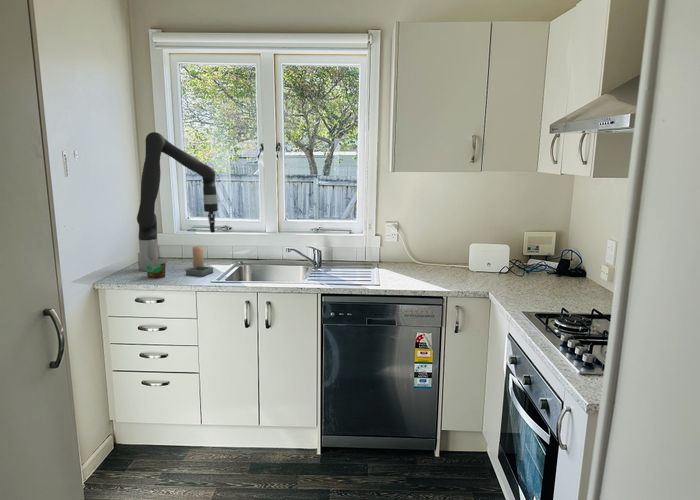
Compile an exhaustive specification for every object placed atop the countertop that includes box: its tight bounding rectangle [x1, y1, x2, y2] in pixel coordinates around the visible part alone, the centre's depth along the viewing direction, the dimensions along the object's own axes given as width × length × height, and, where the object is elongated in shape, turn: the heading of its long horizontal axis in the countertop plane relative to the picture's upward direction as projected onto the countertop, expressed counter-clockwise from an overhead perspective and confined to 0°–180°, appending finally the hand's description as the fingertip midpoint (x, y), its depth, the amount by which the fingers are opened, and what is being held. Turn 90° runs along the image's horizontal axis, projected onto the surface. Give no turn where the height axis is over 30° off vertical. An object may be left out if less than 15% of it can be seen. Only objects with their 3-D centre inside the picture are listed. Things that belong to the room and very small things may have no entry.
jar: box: [192, 245, 204, 267], centre depth 270 cm, size 6×6×12 cm
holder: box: [185, 265, 214, 278], centre depth 257 cm, size 10×10×3 cm
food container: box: [144, 257, 168, 280], centre depth 246 cm, size 12×6×10 cm, turn 73°
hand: (212, 231), depth 269 cm, fingers open, 8 cm apart
